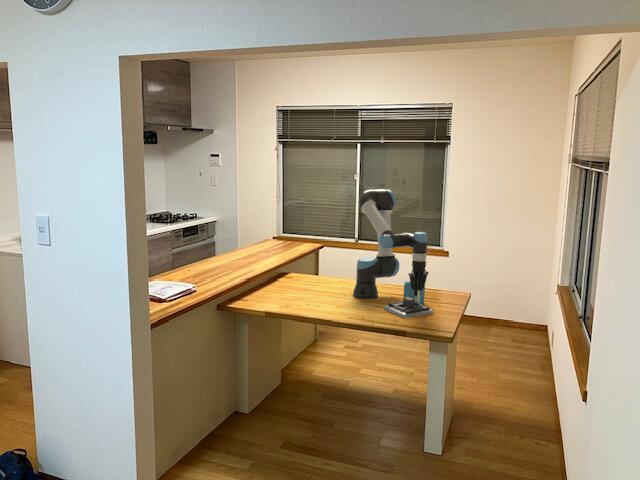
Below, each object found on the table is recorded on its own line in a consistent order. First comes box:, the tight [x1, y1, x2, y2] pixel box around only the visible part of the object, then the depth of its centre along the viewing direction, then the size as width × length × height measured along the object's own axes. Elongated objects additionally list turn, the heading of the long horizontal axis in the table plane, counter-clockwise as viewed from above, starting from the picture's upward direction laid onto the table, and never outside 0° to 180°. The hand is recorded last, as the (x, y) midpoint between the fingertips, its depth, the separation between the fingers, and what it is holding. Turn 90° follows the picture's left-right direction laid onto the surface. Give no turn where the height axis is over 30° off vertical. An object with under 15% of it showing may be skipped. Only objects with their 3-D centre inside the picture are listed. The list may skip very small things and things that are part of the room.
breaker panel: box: [383, 300, 434, 319], centre depth 296 cm, size 18×20×4 cm
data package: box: [402, 281, 426, 305], centre depth 313 cm, size 12×4×12 cm, turn 79°
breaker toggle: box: [402, 297, 415, 307], centre depth 296 cm, size 5×4×5 cm
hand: (417, 301), depth 299 cm, fingers closed
